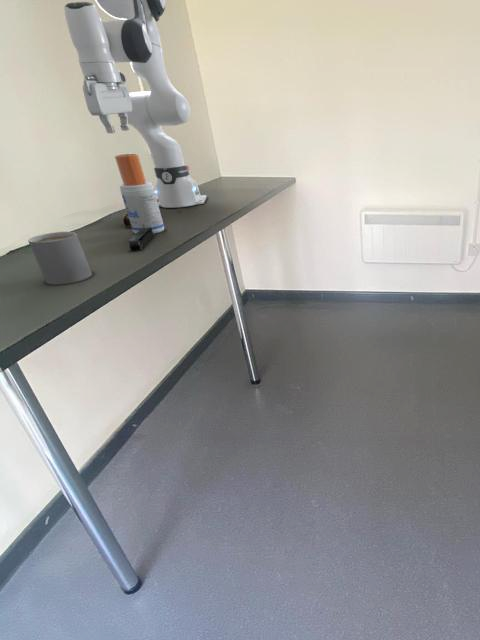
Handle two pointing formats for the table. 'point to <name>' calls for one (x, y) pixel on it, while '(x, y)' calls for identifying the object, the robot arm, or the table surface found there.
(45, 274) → the coffee mug
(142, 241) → the black bar
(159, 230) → the supplement tub
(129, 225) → the sunglasses case
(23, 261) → the table surface
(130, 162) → the cup
